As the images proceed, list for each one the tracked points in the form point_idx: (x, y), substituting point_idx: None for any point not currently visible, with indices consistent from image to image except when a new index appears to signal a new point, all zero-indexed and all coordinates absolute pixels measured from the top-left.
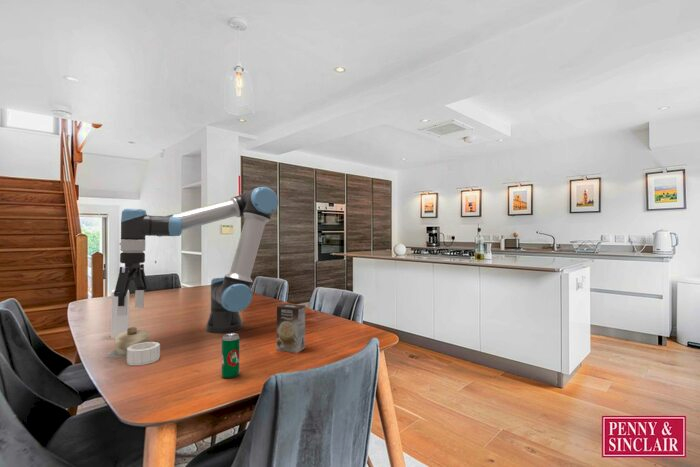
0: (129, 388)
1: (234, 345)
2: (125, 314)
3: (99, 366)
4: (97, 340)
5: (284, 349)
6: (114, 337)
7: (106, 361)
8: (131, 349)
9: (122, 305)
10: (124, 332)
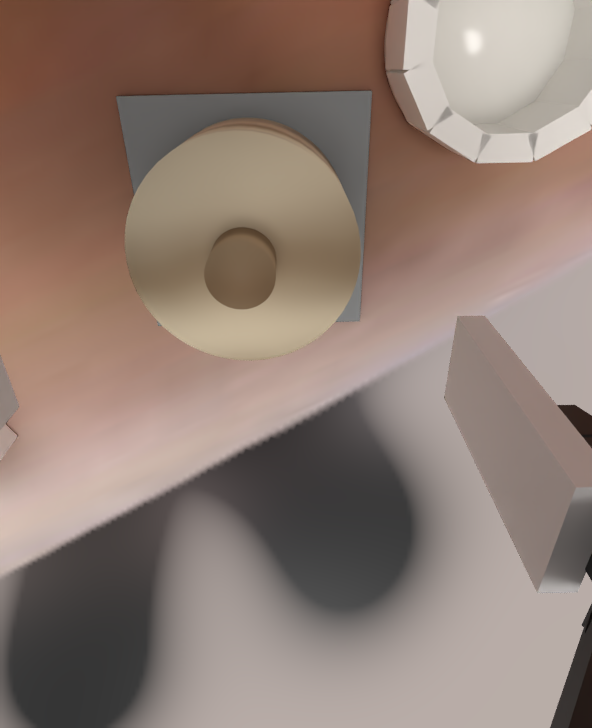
0: None
1: None
2: (486, 328)
3: (482, 283)
4: (37, 488)
5: None
6: (2, 432)
7: (406, 286)
8: (586, 105)
9: (583, 415)
10: (194, 333)
